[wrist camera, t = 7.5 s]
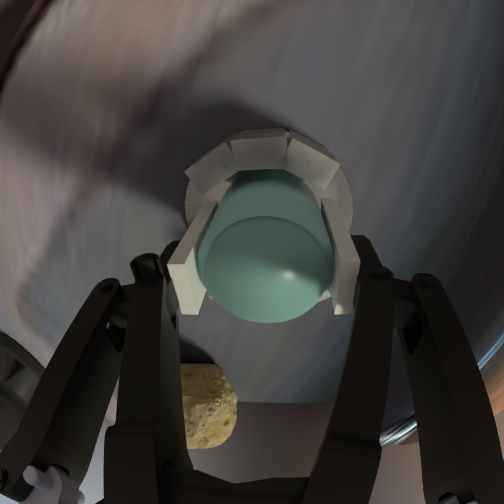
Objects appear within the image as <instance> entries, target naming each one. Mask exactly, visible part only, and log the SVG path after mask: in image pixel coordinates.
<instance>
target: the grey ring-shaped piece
mask: <svg viewBox="0 0 504 504" xmlns="http://www.w3.org/2000/svg"><path fill="white" fill-rule="evenodd" d="M339 165H340V163H339V162H338V161H337V160H336V158H335V157H334V156H333V155H332V154H331V152H330V151H329V150H328V149H326V148H325V147H323V146H321V145H319V144H317V143H316V142H314V141H312V140H310V139H308V138H306V137H305V136H303V135H301V134H299V133H297V132H295V131H293V130H291V129H290V130H289V131H285V128H268V129H251V130H241V131H240V132H239V133H238V134H237V133H236V132H235V133H234V134H232V135H231V136H229V137H228V138H227V139H225V140H224V141H222V142H221V143H219V144H218V145H217V146H215V147H214V148H212V149H211V150H210V151H208V152H207V153H205V154H204V155H203V156H202V157H200V158H199V159H198V160H197V161H196V162H195V163H194V164H193V165H191V166H190V167H189V168H188V169H187V170H186V171H185V174H186V175H187V176H188V178H189V179H190V181H189V184H188V187H187V191H186V197H185V214H186V221H187V224H188V228H189V227H190V225H191V223H192V222H193V220H194V219H195V217H196V215H197V214H198V212H199V211H200V209H201V207H202V206H203V204H204V203H205V202H212V201H217V202H218V206H219V204H220V202H221V200H222V198H223V196H224V194H225V192H226V190H227V189H228V188H229V186H230V185H231V184H232V183H233V182H234V181H236V180H237V179H238V178H240V177H241V176H243V175H245V174H247V173H249V172H252V171H256V170H261V169H276V170H282V171H285V172H288V173H291V174H293V175H295V176H296V177H298V178H300V179H301V180H302V181H303V182H305V183H306V184H307V185H308V186H309V188H310V189H311V190H312V192H313V193H314V195H315V197H316V199H317V202H318V205H319V208H320V211H321V197H334V199H335V202H336V204H337V206H338V208H339V210H340V213H341V215H342V217H343V220H344V222H345V224H346V227H347V229H348V231H349V230H350V227H351V223H352V216H353V201H352V195H351V191H350V187H349V184H348V181H347V179H346V177H345V175H344V173H343V171H342V170H341V168H340V167H339ZM329 297H331V292H330V287H329V289H328V290H327V292H326V293H325V295H324V296H323V297H322V298H321V299H320V300H319V301H318V302H320V301H322V300H324V299H326V298H329ZM209 298H211V299H213V298H212V296H211V295H210V296H209ZM318 302H317V303H318Z"/></svg>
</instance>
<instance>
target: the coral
mask: <svg viewBox="0 0 504 504" xmlns="http://www.w3.org/2000/svg"><path fill="white" fill-rule="evenodd" d="M180 369H181V385H182V399H183V411H184V422H185V432H186V441H187V449H188V448H189V449H193V448H211V447H215V446H217V445H220V444H221V443H223V442H224V441H225V440H226V439H227V438H228V436H230V435H231V432H232V430H233V427H234V426H235V423H236V418H237V417H236V410H237V409H236V402H237V396H236V394H235V392H234V388H233V387H232V386H231V384H230V381H229V380H228V379H227V377H226V376H225V375H224V373H223V372H222V371H221V370H220V368H218V367H217V366H216V365H214V364H209V363H204V364H197V363H196V364H186V363H180Z"/></svg>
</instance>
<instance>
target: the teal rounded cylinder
mask: <svg viewBox="0 0 504 504" xmlns="http://www.w3.org/2000/svg"><path fill="white" fill-rule="evenodd" d="M333 268H334V252H333V249H332V246H331V242H330V239H329V236H328V233H327V230H326V227H325V223H324V220H323V217H322V214H321V211H320V208H319V205H318V202H317V199H316V197H315V195H314V193H313V192H312V190H311V189H310V188H309V186H308V185H307V184H306V183H305V182H303V181H302V180H301V179H300V178H298V177H296V176H295V175H293V174H291V173H288V172H285V171H282V170H276V169H261V170H256V171H252V172H249V173H247V174H245V175H243V176H241V177H240V178H238V179H237V180H236V181H234V182H233V183H232V184H231V185H230V186H229V188H228V189H227V190H226V192H225V194H224V196H223V198H222V200H221V202H220V204H219V206H218V208H217V210H216V212H215V214H214V216H213V219H212V221H211V223H210V225H209V227H208V229H207V232H206V234H205V236H204V238H203V240H202V242H201V245H200V248H199V252H198V272H199V275H200V278H201V281H202V283H203V285H204V287H205V288H206V290H207V291H208V293H209V294H210V295H211V296H212V298H213V299H214V300H215V301H216V303H217V304H218V305H220V306H221V307H222V308H223V309H224V310H226V311H227V312H229V313H231V314H232V315H234V316H236V317H239V318H241V319H244V320H247V321H252V322H258V323H277V322H283V321H287V320H291V319H293V318H296V317H298V316H300V315H302V314H304V313H305V312H307V311H308V310H309V309H311V308H312V307H313V306H314V305H315V304H316V303H317V302H318V301H319V300H320V299H321V298H322V297H323V296H324V295H325V293H326V292H327V290H328V289H329V287H330V285H331V283H332V278H333Z"/></svg>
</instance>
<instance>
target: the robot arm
mask: <svg viewBox="0 0 504 504" xmlns="http://www.w3.org/2000/svg"><path fill="white" fill-rule="evenodd" d="M217 208H218V202H217V201H212V202H205V203H204V204H203V206H202V207H201V209H200V211H199V212H198V214H197V215H196V217H195V219H194V220H193V222H192V223H191V225H190V227H189V228H188V230H187V232H186V233H185V235H184V236H183V238H182V240H181V241H173V242H171V243H170V244H169V245H167V246H166V248H165V249H164V251H163V253H162V254H161V255H160V257H159V256H158V255H157V254H154V253H146V254H142V255H140V256H138V257H136V258H134V259H133V260H132V261H131V263H130V267H131V269H132V272H133V275H134V278H135V283H133V284H129V285H124V286H121V285H120V282H119V280H118V279H116V278H108V279H105V280H102V281H101V282H99V283H98V284H97V285H96V286H95V287H94V289H93V290H92V292H91V293H90V295H89V296H88V298H87V300H86V301H85V303H84V304H83V306H82V307H81V309H80V310H79V312H78V314H77V315H76V317H75V318H74V320H73V322H72V323H71V325H70V327H69V328H68V330H67V332H66V333H65V335H64V337H63V338H62V340H61V342H60V344H59V345H58V347H57V349H56V351H55V352H54V354H53V356H52V358H51V360H50V362H49V363H48V365H47V367H46V369H44V368H43V367H42V366H41V365H40V364H39V363H38V361H37V360H36V359H35V358H33V357H32V356H31V355H30V354H29V353H28V352H27V351H26V350H25V349H24V348H22V347H21V346H20V345H19V344H18V343H16V342H15V341H14V340H12V339H11V338H9V337H8V336H6V335H4V334H1V333H0V494H2V495H4V496H7V497H8V498H10V499H13V500H15V501H17V502H18V503H19V504H83V503H84V500H85V497H84V495H83V493H82V492H81V491H79V486H80V485H81V483H82V482H83V479H84V477H85V475H86V473H87V471H88V468H89V465H90V462H91V458H92V455H93V452H94V448H95V445H96V442H97V438H98V435H99V432H100V429H101V426H102V423H103V420H104V417H105V414H106V411H107V408H108V405H109V402H110V400H111V397H112V394H113V391H114V388H115V386H116V383H117V380H118V378H119V375H120V378H119V387H118V398H117V411H116V422H115V424H114V425H113V426H109V427H108V428H107V430H106V433H105V442H104V499H102V500H101V501H99V502H97V503H96V504H368V503H369V500H370V496H371V493H372V489H373V486H374V482H375V478H376V475H377V471H378V467H379V462H380V458H381V451H382V446H381V445H380V443H379V439H380V433H381V428H382V422H383V417H384V411H385V404H386V397H387V390H388V382H389V373H390V363H391V352H392V337H393V328H397V331H398V334H399V338H400V342H401V346H402V350H403V354H404V359H405V363H406V368H407V372H408V377H409V382H410V387H411V392H412V398H413V403H414V409H415V416H416V422H417V429H418V437H419V446H420V455H421V467H422V481H423V490H424V497H425V501H426V504H504V460H503V457H502V451H501V446H500V441H499V436H498V432H497V427H496V423H495V419H494V415H493V411H492V408H491V404H490V401H489V397H488V394H487V391H486V388H485V385H484V382H483V379H482V376H481V373H480V370H479V367H478V365H477V362H476V359H475V357H474V354H473V352H472V349H471V347H470V344H469V342H468V339H467V337H466V335H465V332H464V330H463V328H462V326H461V323H460V321H459V319H458V317H457V315H456V313H455V310H454V308H453V306H452V304H451V302H450V300H449V298H448V296H447V294H446V292H445V290H444V288H443V287H442V285H441V283H440V281H439V280H438V279H437V278H436V277H434V276H433V275H431V274H428V273H417V274H415V275H414V276H413V278H412V281H411V282H410V281H405V280H400V279H396V278H394V276H393V273H392V272H391V271H390V270H389V269H388V268H386V267H384V266H382V264H381V262H380V260H379V258H378V256H377V254H376V252H375V250H374V248H373V246H372V244H371V242H370V240H369V239H367V238H366V237H365V236H364V235H350V234H349V231H348V229H347V227H346V224H345V222H344V220H343V217H342V215H341V213H340V210H339V208H338V206H337V204H336V202H335V199H334V197H321V214H322V217H323V220H324V223H325V227H326V230H327V233H328V236H329V239H330V242H331V246H332V249H333V252H334V268H333V278H332V283H331V285H330V292H331V297H332V303H333V308H334V314H352V308H353V305H354V309H355V314H354V319H353V324H352V328H351V334H350V339H349V344H348V348H347V353H346V357H345V361H344V366H343V370H342V374H341V378H340V382H339V385H338V389H337V393H336V397H335V400H334V404H333V407H332V411H331V414H330V417H329V421H328V424H327V427H326V430H325V433H324V436H323V439H322V442H321V445H320V448H319V451H318V454H317V457H316V459H315V462H314V465H313V467H312V470H311V472H310V475H309V477H301V478H300V477H299V478H268V479H263V480H258V481H251V482H244V483H230V482H228V481H225V480H222V479H219V478H216V477H214V476H211V475H209V474H206V473H203V472H201V471H198V470H194V469H193V465H192V462H191V460H190V457H189V454H188V450H187V441H186V432H185V422H184V411H183V399H182V385H181V369H180V348H179V319H178V316H177V313H176V311H177V309H178V306H180V309H181V312H182V314H194V315H198V313H199V310H200V307H201V304H202V301H203V298H204V295H205V292H206V288H205V287H204V285H203V283H202V281H201V278H200V275H199V272H198V252H199V248H200V245H201V242H202V240H203V238H204V236H205V234H206V232H207V229H208V227H209V225H210V223H211V221H212V219H213V216H214V214H215V212H216V210H217ZM107 323H109V324H110V325H109V327H108V329H107V328H106V326H107Z"/></svg>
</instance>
